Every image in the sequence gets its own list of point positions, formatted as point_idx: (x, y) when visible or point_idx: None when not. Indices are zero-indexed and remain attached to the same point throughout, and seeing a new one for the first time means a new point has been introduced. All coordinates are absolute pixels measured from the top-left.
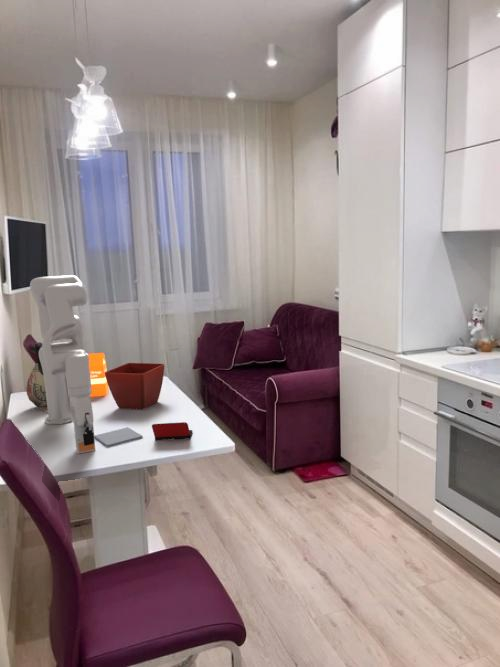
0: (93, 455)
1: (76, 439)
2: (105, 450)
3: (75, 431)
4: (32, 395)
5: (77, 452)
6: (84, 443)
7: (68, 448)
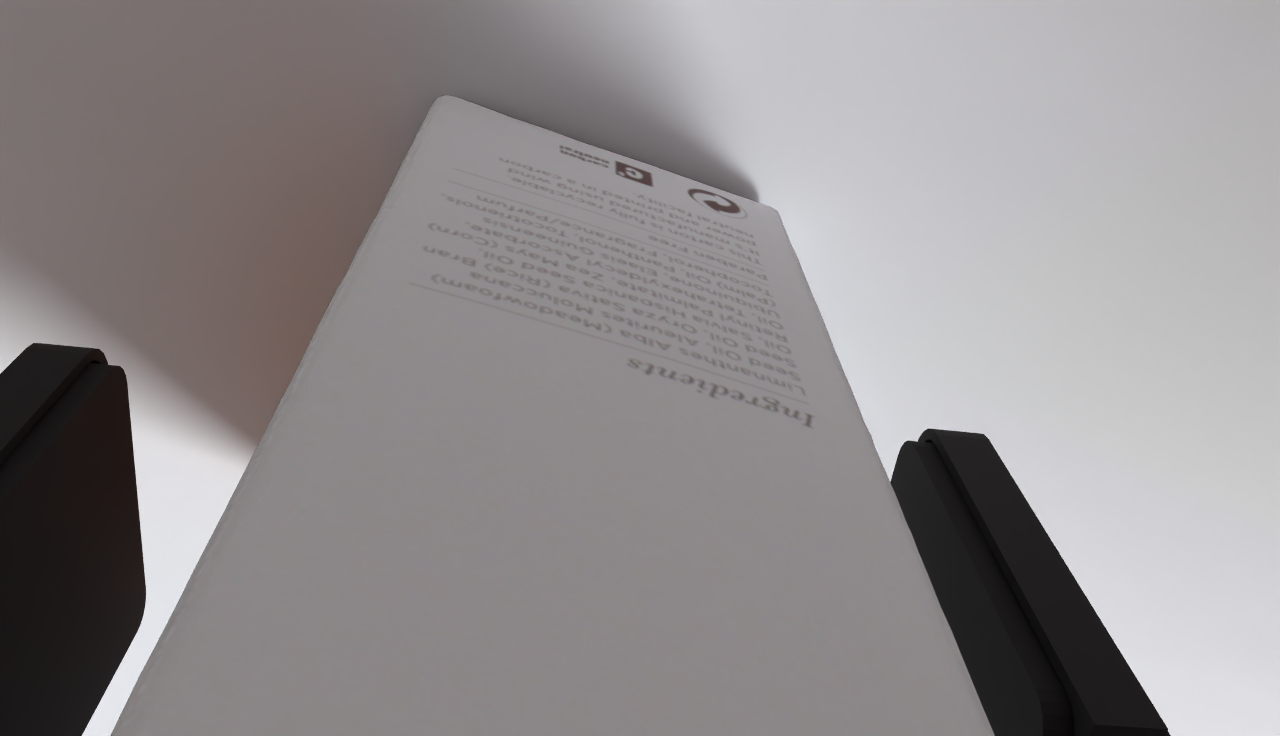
0: (9, 333)
1: (344, 277)
2: None
3: (240, 499)
4: None
5: (437, 101)
6: (16, 371)
7: (1122, 111)
